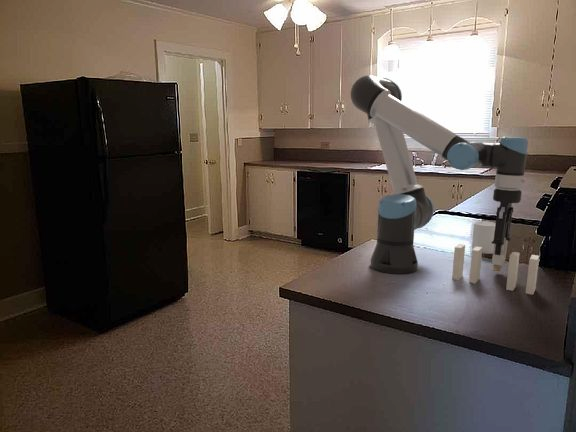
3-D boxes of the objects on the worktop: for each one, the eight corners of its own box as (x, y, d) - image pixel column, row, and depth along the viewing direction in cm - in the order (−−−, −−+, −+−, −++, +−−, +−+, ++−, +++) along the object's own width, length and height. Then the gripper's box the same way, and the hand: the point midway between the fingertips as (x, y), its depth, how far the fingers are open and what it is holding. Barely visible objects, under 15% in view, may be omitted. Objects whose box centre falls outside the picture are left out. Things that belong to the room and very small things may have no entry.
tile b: (469, 282, 130) (472, 249, 128) (473, 277, 134) (476, 246, 132) (475, 283, 129) (478, 250, 127) (479, 279, 132) (482, 247, 131)
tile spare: (492, 270, 135) (496, 239, 133) (496, 266, 139) (500, 236, 137) (499, 271, 134) (503, 240, 132) (502, 267, 138) (506, 237, 136)
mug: (503, 257, 156) (506, 228, 154) (468, 251, 163) (471, 223, 161) (508, 252, 162) (511, 224, 160) (475, 247, 170) (477, 220, 168)
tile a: (452, 278, 132) (454, 247, 130) (456, 274, 136) (459, 243, 134) (458, 280, 131) (460, 248, 129) (462, 275, 135) (465, 244, 133)
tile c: (506, 289, 124) (509, 255, 122) (509, 284, 128) (512, 251, 126) (513, 290, 123) (516, 256, 121) (516, 285, 127) (519, 252, 125)
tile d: (525, 293, 121) (529, 258, 119) (528, 288, 125) (532, 254, 123) (532, 294, 120) (537, 259, 118) (535, 289, 124) (539, 255, 122)
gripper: (516, 193, 122) (506, 272, 127) (526, 187, 137) (516, 258, 141) (488, 190, 126) (479, 266, 131) (500, 184, 141) (491, 253, 146)
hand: (498, 262), depth 136 cm, fingers closed on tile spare, 5 cm apart
